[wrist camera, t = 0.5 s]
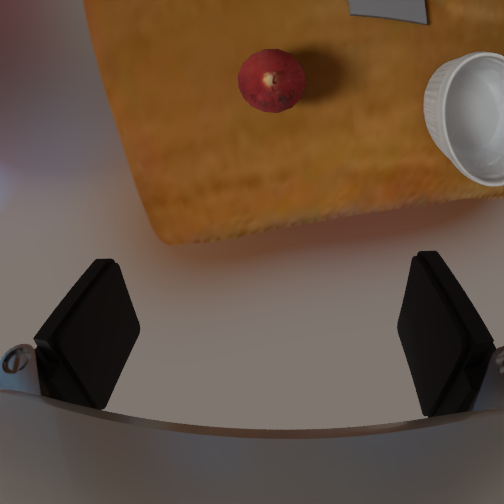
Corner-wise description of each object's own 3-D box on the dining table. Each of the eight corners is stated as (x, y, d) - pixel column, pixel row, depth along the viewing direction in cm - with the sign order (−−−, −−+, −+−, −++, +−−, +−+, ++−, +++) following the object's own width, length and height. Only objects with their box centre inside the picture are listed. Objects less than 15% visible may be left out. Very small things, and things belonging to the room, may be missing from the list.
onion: (312, 96, 29) (321, 102, 22) (258, 117, 30) (250, 129, 24) (288, 44, 26) (290, 33, 19) (233, 66, 28) (218, 63, 21)
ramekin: (502, 58, 23) (539, 61, 17) (506, 165, 29) (539, 185, 23) (405, 49, 25) (434, 45, 19) (416, 169, 31) (443, 191, 25)
